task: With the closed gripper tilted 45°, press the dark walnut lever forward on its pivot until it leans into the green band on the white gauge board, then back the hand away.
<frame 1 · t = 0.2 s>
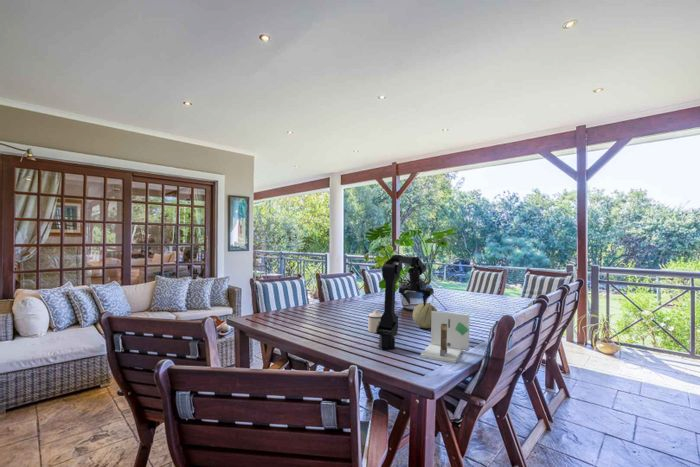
hand: (417, 304, 194), 15 cm above the table, tool pointing down, fingers open, 9 cm apart
teacup with lid: (377, 330, 196), on the table
lever: (443, 338, 154), point 8 cm above the table, hinge at 0.0°
gauge base: (443, 357, 153), on the table
cantaloupe: (425, 328, 204), on the table
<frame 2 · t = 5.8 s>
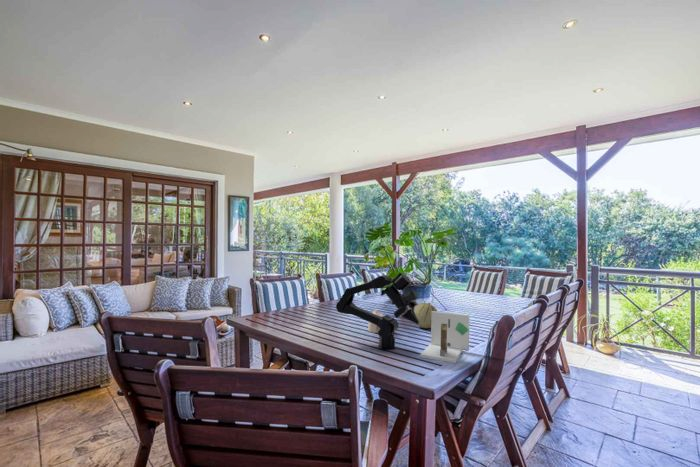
hand: (418, 323, 159), 14 cm above the table, tool tilted 45°, fingers closed
nothing on the table moved.
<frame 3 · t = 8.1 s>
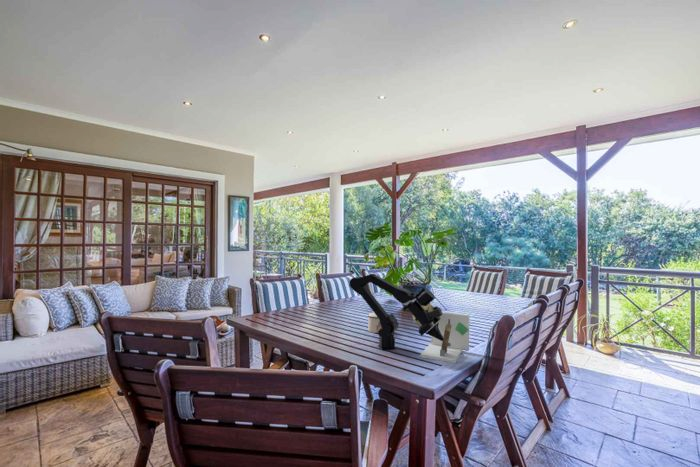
hand: (443, 340, 154), 7 cm above the table, tool tilted 45°, fingers closed, pressing on lever
lever: (446, 339, 153), point 8 cm above the table, hinge at 9.8°, touching gripper
everything else where it was.
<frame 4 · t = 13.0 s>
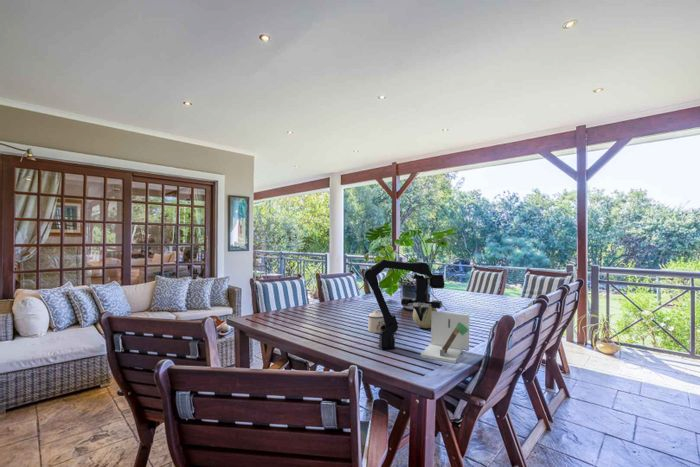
hand: (421, 320, 166), 13 cm above the table, tool pointing down, fingers closed
lever: (450, 341, 152), point 8 cm above the table, hinge at 28.7°
everything else where it was.
at the end: lever at +29° (first picture: +0°); the gripper is holding nothing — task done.
